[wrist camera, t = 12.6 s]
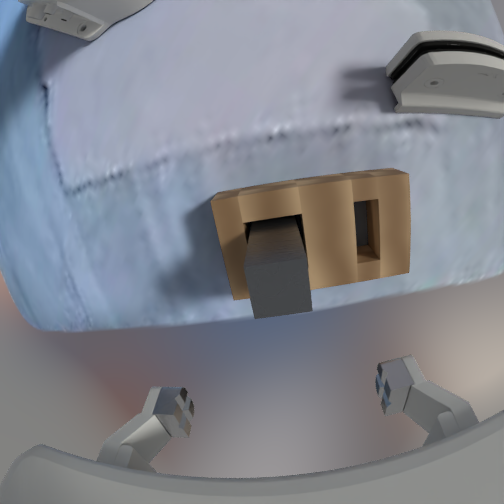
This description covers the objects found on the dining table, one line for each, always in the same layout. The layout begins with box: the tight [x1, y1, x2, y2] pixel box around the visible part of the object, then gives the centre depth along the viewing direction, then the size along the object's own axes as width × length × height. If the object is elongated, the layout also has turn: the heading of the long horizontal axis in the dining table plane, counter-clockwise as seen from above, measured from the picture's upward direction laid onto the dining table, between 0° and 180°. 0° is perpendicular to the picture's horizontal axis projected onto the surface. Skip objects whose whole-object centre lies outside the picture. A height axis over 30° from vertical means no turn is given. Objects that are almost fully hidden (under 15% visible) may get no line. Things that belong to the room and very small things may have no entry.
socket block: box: [210, 168, 411, 300], centre depth 28 cm, size 18×10×4 cm, turn 100°
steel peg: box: [244, 215, 312, 319], centre depth 25 cm, size 4×4×12 cm
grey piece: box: [386, 31, 504, 119], centre depth 19 cm, size 17×5×10 cm, turn 100°
